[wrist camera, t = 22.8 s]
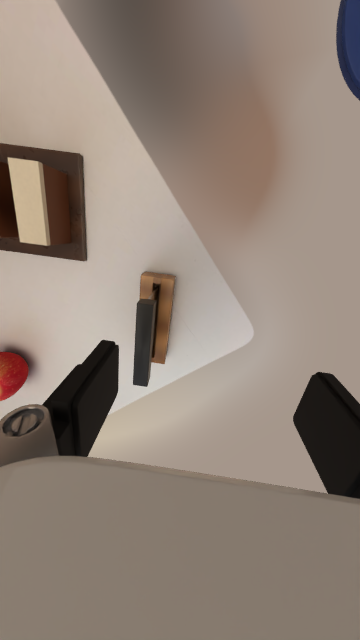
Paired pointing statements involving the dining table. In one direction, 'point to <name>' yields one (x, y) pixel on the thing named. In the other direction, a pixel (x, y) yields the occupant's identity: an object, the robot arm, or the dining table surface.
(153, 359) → the knife block
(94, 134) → the dining table surface
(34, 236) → the cake slice
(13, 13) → the dining table surface
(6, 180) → the cake
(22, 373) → the apple
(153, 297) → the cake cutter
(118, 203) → the dining table surface
